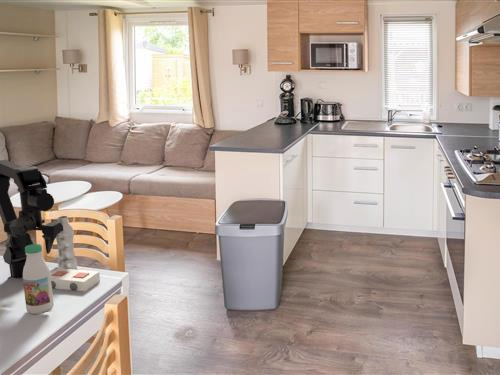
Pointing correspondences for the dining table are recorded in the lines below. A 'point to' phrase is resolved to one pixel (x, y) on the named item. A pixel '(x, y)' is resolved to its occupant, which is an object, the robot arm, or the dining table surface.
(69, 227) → the plastic bottle
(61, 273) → the inner button
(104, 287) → the dining table surface
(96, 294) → the dining table surface
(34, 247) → the milk bottle
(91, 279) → the switch panel
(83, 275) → the outer button
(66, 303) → the dining table surface
